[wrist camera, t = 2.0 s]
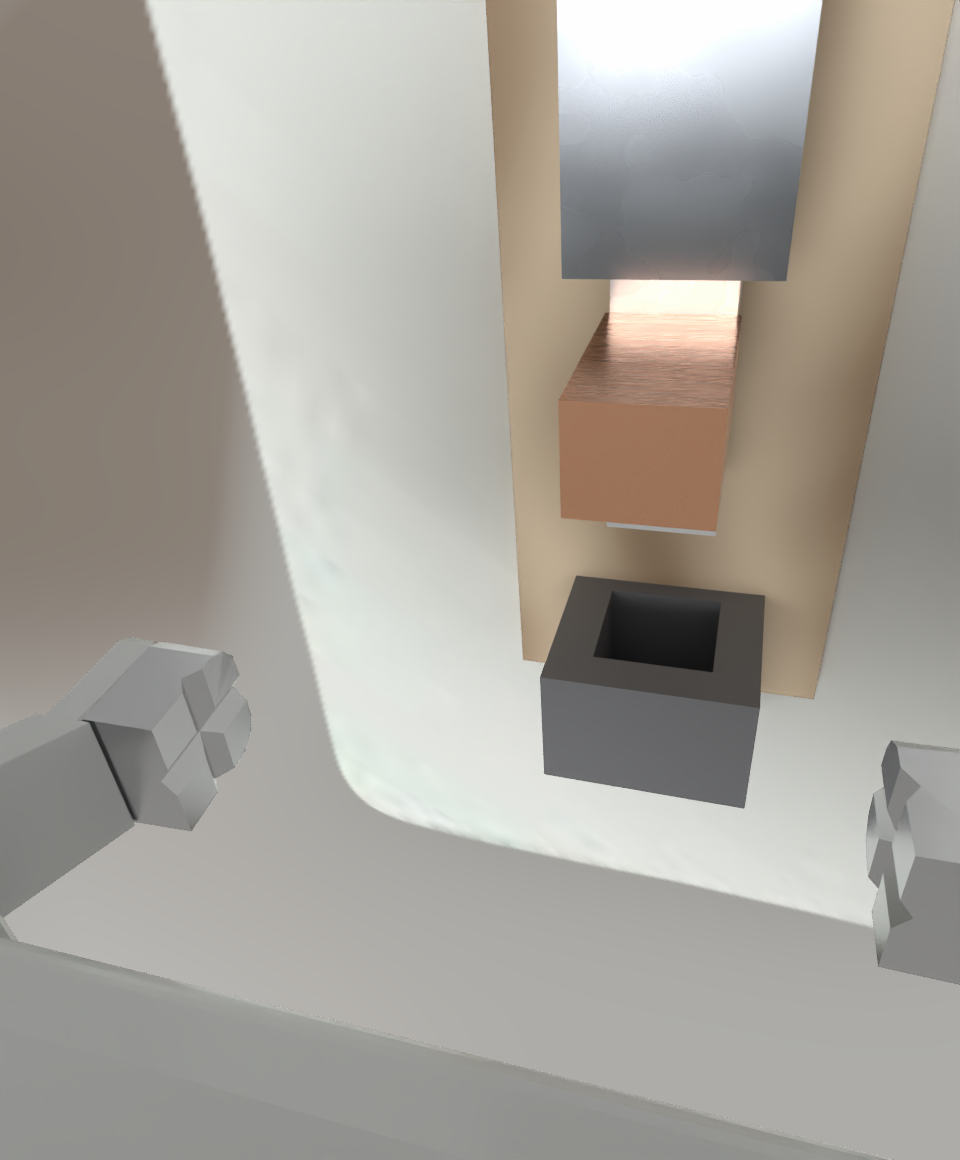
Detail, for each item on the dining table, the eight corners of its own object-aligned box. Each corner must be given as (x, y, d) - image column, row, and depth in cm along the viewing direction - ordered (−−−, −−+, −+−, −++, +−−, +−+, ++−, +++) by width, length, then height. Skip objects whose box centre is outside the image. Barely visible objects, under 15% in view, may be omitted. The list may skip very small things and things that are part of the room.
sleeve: (852, -293, 16) (869, -367, 12) (788, 225, 21) (786, 281, 17) (602, -253, 17) (551, -308, 13) (599, 226, 22) (562, 278, 19)
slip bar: (803, -258, 16) (807, -395, 9) (726, 484, 24) (703, 661, 18) (635, -232, 16) (542, -344, 10) (619, 476, 25) (563, 642, 19)
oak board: (1008, -306, 16) (1019, -320, 15) (813, 679, 29) (813, 699, 29) (486, -224, 18) (472, -232, 18) (529, 642, 32) (523, 659, 31)
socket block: (765, 595, 27) (759, 707, 23) (751, 690, 29) (744, 808, 25) (576, 575, 29) (540, 677, 24) (577, 667, 31) (544, 773, 27)
